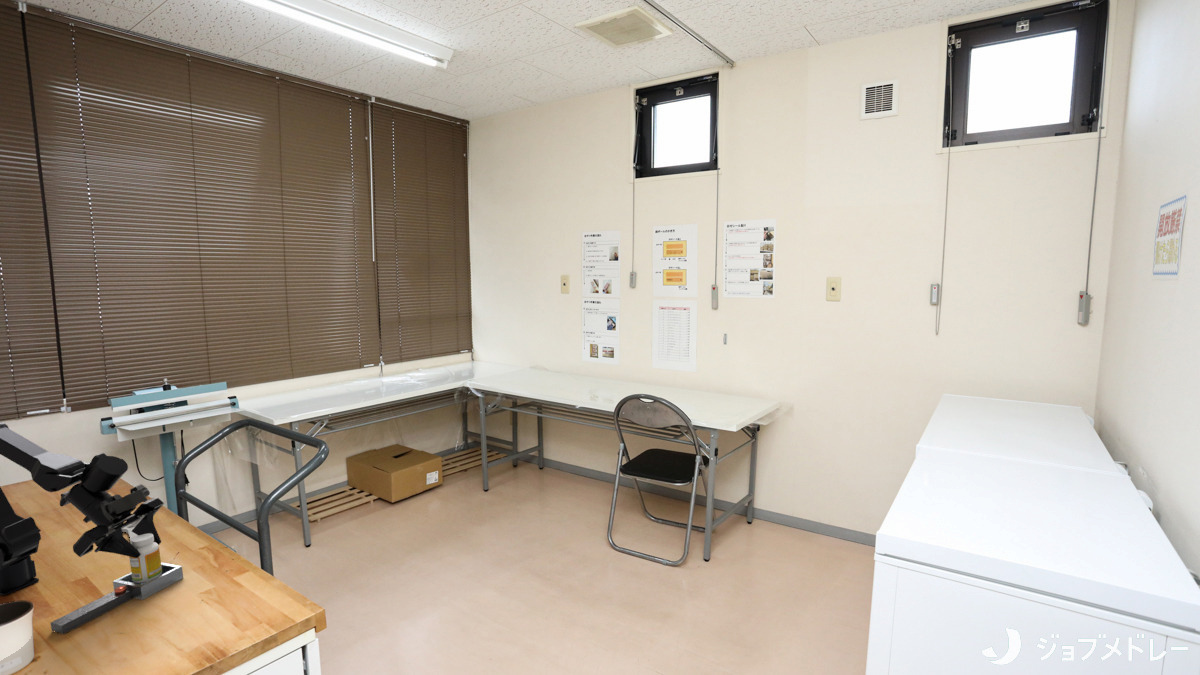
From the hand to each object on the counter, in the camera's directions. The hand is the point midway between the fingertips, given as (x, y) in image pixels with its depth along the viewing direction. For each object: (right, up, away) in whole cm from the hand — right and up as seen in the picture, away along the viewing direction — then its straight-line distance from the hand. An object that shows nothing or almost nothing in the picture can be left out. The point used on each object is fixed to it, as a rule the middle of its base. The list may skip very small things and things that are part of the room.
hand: (149, 549), depth 129 cm
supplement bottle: (-1, -7, +1) cm, 7 cm away
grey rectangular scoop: (-3, -10, -5) cm, 11 cm away
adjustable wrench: (-25, -7, +25) cm, 36 cm away
